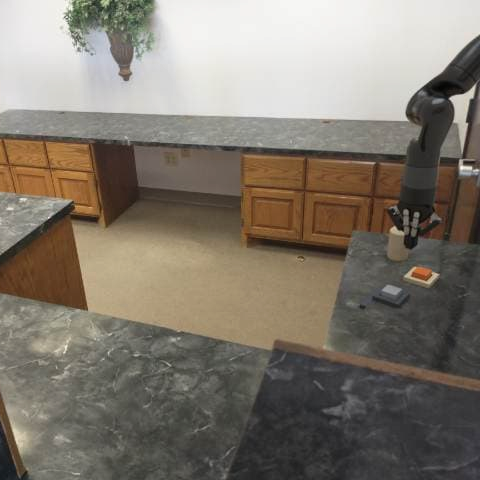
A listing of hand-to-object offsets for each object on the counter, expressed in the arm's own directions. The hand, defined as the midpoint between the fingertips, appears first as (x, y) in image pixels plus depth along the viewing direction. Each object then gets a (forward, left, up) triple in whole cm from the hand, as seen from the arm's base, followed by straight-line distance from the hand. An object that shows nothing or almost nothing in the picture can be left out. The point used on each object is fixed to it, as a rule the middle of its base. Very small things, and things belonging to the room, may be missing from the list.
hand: (409, 247), depth 126 cm
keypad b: (+7, 0, -14) cm, 15 cm away
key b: (+7, 0, -11) cm, 13 cm away
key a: (-6, +2, -11) cm, 13 cm away
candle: (-17, -9, -14) cm, 24 cm away
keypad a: (-6, +2, -14) cm, 15 cm away
